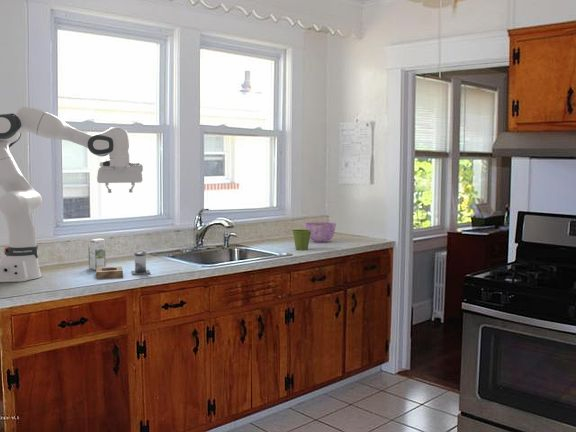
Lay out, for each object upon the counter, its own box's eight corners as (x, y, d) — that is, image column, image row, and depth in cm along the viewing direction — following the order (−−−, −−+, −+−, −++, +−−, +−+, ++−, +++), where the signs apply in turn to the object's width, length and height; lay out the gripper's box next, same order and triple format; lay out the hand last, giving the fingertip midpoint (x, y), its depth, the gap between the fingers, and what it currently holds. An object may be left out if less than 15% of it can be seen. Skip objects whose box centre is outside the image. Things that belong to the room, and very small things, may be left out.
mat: (132, 275, 267) (132, 273, 266) (131, 272, 274) (131, 270, 274) (150, 274, 269) (150, 272, 269) (148, 271, 277) (148, 269, 277)
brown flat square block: (96, 278, 258) (96, 272, 258) (96, 274, 269) (96, 267, 269) (122, 277, 262) (122, 270, 261) (121, 272, 272) (121, 266, 272)
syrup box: (99, 267, 287) (98, 237, 285) (106, 268, 283) (105, 238, 282) (88, 268, 282) (87, 238, 281) (95, 270, 279) (94, 240, 277)
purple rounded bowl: (309, 239, 391) (309, 221, 390) (338, 240, 386) (338, 222, 385) (301, 243, 372) (302, 224, 371) (332, 244, 367) (333, 225, 366)
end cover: (134, 273, 268) (134, 253, 267) (133, 271, 273) (133, 252, 272) (147, 272, 270) (146, 253, 269) (146, 270, 275) (145, 251, 274)
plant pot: (298, 251, 337) (298, 232, 336) (288, 248, 347) (288, 230, 346) (315, 249, 343) (315, 230, 342) (305, 247, 353) (305, 228, 352)
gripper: (142, 162, 277) (142, 191, 278) (96, 162, 271) (97, 192, 272) (143, 162, 271) (143, 192, 272) (96, 162, 265) (97, 193, 266)
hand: (120, 192), depth 272 cm, fingers open, 8 cm apart
